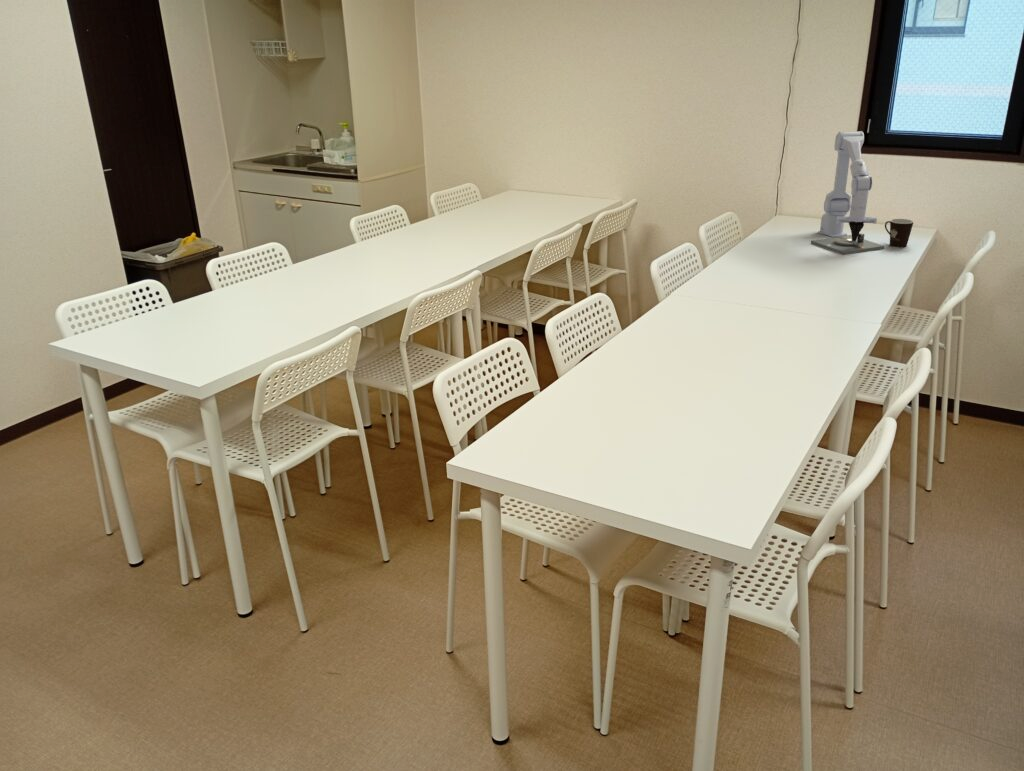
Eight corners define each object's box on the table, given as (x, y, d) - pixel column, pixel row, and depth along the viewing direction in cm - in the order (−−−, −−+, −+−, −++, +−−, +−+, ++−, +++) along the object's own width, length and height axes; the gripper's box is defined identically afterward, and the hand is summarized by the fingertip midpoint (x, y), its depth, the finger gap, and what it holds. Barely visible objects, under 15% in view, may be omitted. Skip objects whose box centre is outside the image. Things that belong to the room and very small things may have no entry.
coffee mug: (913, 247, 335) (917, 223, 331) (891, 248, 335) (895, 223, 331) (901, 240, 345) (905, 216, 341) (880, 241, 346) (884, 217, 341)
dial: (829, 241, 343) (830, 229, 341) (848, 238, 346) (850, 226, 344) (851, 249, 332) (853, 236, 329) (871, 245, 335) (873, 233, 333)
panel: (810, 243, 346) (811, 239, 346) (850, 237, 352) (850, 234, 352) (843, 254, 329) (843, 251, 328) (884, 248, 335) (884, 245, 334)
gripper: (840, 208, 325) (835, 242, 331) (879, 209, 322) (874, 243, 328) (838, 204, 332) (833, 238, 337) (876, 205, 328) (872, 239, 334)
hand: (853, 240), depth 333 cm, fingers closed
